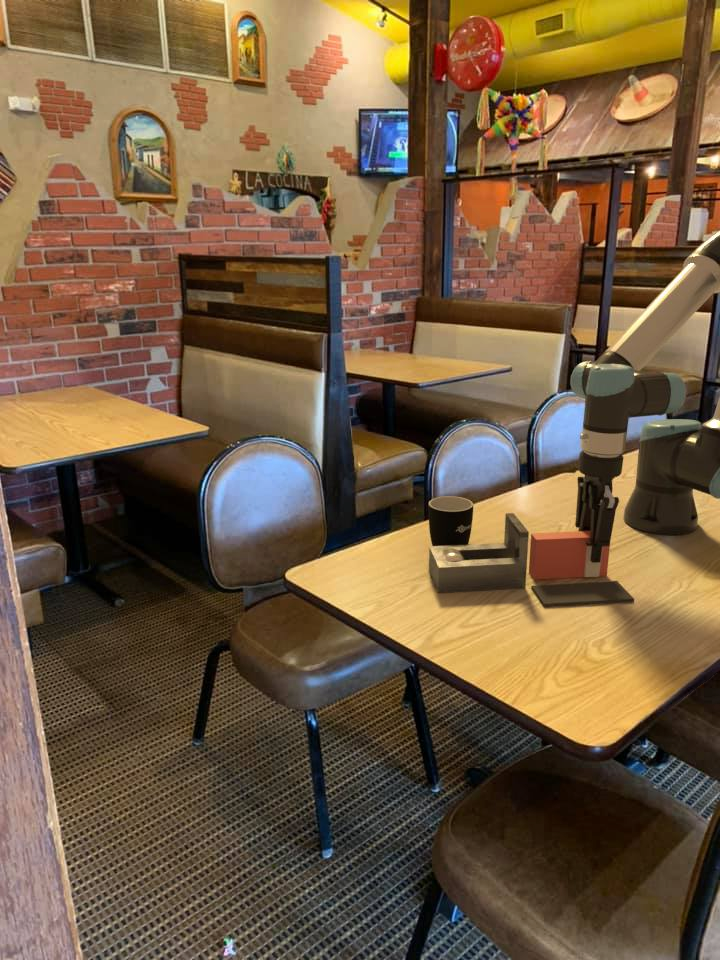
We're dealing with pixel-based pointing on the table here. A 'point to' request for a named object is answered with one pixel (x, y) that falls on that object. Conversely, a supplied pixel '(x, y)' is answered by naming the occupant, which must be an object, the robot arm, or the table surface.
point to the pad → (581, 593)
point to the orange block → (561, 555)
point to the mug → (450, 520)
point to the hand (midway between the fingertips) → (587, 571)
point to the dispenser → (482, 562)
